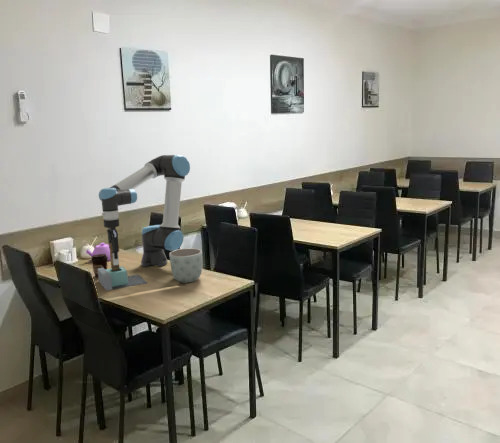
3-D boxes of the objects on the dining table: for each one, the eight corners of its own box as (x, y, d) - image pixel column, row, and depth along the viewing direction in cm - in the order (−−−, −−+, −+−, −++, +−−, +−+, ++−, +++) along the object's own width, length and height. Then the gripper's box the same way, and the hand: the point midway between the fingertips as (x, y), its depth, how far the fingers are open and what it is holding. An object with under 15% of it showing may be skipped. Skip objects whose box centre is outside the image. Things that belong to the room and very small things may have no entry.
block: (123, 279, 256) (122, 266, 254) (128, 283, 248) (126, 270, 247) (106, 282, 252) (105, 269, 250) (110, 287, 244) (109, 273, 242)
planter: (209, 281, 251) (207, 252, 248) (178, 287, 243) (176, 258, 240) (195, 273, 265) (193, 246, 263) (166, 279, 257) (164, 251, 254)
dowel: (118, 268, 251) (116, 242, 248) (120, 270, 247) (118, 243, 245) (110, 269, 249) (108, 243, 246) (112, 271, 246) (110, 244, 243)
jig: (138, 276, 264) (137, 262, 262) (147, 285, 248) (146, 269, 247) (98, 283, 254) (97, 268, 253) (106, 293, 239) (104, 277, 237)
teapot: (82, 261, 301) (80, 244, 299) (112, 254, 314) (111, 238, 312) (91, 265, 291) (89, 248, 289) (122, 258, 304) (120, 242, 301)
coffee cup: (104, 281, 258) (102, 257, 256) (90, 280, 260) (87, 257, 258) (112, 276, 267) (109, 253, 264) (98, 275, 268) (95, 253, 266)
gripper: (100, 217, 249) (104, 261, 253) (107, 222, 234) (111, 268, 239) (114, 215, 252) (118, 259, 257) (122, 220, 238) (126, 266, 242)
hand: (115, 263), depth 248 cm, fingers closed on dowel, 4 cm apart
